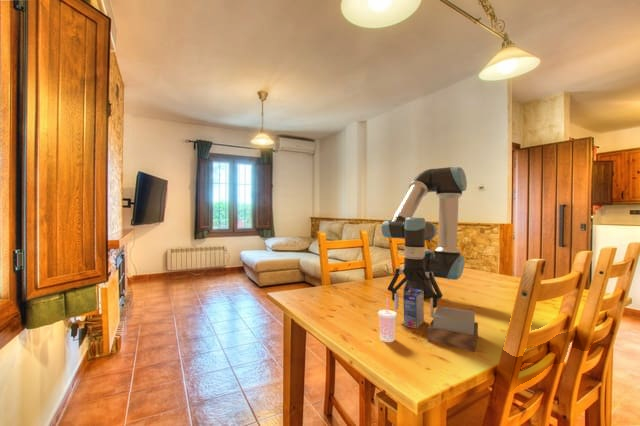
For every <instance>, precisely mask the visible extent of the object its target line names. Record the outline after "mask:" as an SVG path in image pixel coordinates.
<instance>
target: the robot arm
mask: <svg viewBox="0 0 640 426" xmlns="http://www.w3.org/2000/svg"><path fill="white" fill-rule="evenodd" d="M467 184H468V183H467V177H466V173H465V171H464V169H463V168H462V167H460V166H449V167H440V168H438V167H437V168H429V169H426V170H423V171H421V172H420V173H419V174H417V175H416V176H415V177H414V178H413V179H412V181H411V182H410V183H409V185H408V191H407V193H406V195H405V196H404V198H403V199H402V201H401V202H400V205H399V206H398V208H397V210H396V211H395V213H394V214H393V216H392V218H391V220H385V221H383V222H382V224H381V228H380V229H381V231H380V232H381V233H382V236H383V237H384V238H389V239H403V240H404V250H403V251H404V252H403V253H404V259H403V263H404V264H403V265H404V266H403V267H404V268H401V267H397V268H395V272H394V273H395V274H394V276H393V277H392V280H391V281H390V283H389V285H388V287H387V291H390V292H391V294H392V295H391V300H392V301H393V302H394V308H393V309H394V310H393V311H397V310H399V298H400V297H399V296H400V295H399V292H398V290H400V288H401V287H402V286H403V285H404V286H403V289H402V290H403V292H402V294H403V295H404V294H405V293H406V292H407V291H409V290H410V289H409V287H408V286H410V285H412V286H413V288H414V289H417V290H423V291H424V300H428V299H430V307H429V308H430V311H429V312H430V313H429V314H430V315H429V316H430V318H433V316H434V313H435V309H437V307H438V300H439V299H442V297H443V293H442V290H441V289H440V287H439V285H438V282H437V281H436V279H435V278H437V279H439V278H440V279H445V280H449V281H450V280H455V281H457V280H459V279H460V278H461V276H462V275H463V272H464V268H465V257H464V256H463V255H461V251H460V250H459V249H458V232H459V231H458V229H459V227H458V224H459V200H460V198H461V197H462V196H463V192H465V191H466V190H467V186H468V185H467ZM432 192H434V193H435V195H436V196H437V197H438V199H439V202H438V204H439V206H438V230H437V226H436V225H435V223H433V222H431V221H426V219H425V218H424V217H414V214H415V213H416V210H417V209H418V207H419V206H420V204H421V201H422V199H423V198H424V197H426V196H427V195H428V193H432ZM436 235H437V247H436V248H435V249H434V253H433V252H432V250H431V249H426V241H430V240H432V239H433V238H435V237H436ZM401 274H403V275H404V277H403V278H402V280H401V281H400V282H399V283H398V284H396V283H397V280H399V278H400V277H399V276H400V275H401ZM395 285H396V286H395ZM411 289H412V287H411Z"/></svg>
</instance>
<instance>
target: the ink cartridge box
mask: <svg viewBox="0 0 640 426" xmlns="http://www.w3.org/2000/svg"><path fill="white" fill-rule="evenodd" d="M408 287H409V289H410V290H409V291H407V292H406V293H405V294H403V295H402V296H403V297H402V298H403V326H404V327H408V328H412V329H416V330H417V329H419V327H420V326H421V325H422V324H423V323H424V322H425V304H424V303H425V301H424V300H425V299H424V291H423V290H417V289H414V288H413V286H412V285H410V286H408ZM411 287H412V289H411Z"/></svg>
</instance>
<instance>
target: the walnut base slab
mask: <svg viewBox="0 0 640 426" xmlns="http://www.w3.org/2000/svg"><path fill="white" fill-rule="evenodd" d="M478 337H479V322H476V321H475V323H474V335H468V334H463V333H457V332H452V331H447V330H441V329H436V328H433V319H432V320H431V322H430V324H428V327H427V342H430V343H434V344H437V345H442V346H445V347H446V346H448V347H452V348H456V349H458V350H459V349H460V350H465V351H469V352H472V353H475V351H476V347H477V343H478Z"/></svg>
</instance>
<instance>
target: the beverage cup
mask: <svg viewBox="0 0 640 426" xmlns="http://www.w3.org/2000/svg"><path fill="white" fill-rule="evenodd" d="M377 315H378V321H379V339H380V341H382V342H385V343H392V342H394V341H395V331H396V319H397V318H396V317H397V312H396V311H395V310H391V309H389V298H388V297H386V309H379V310H378V312H377Z"/></svg>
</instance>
